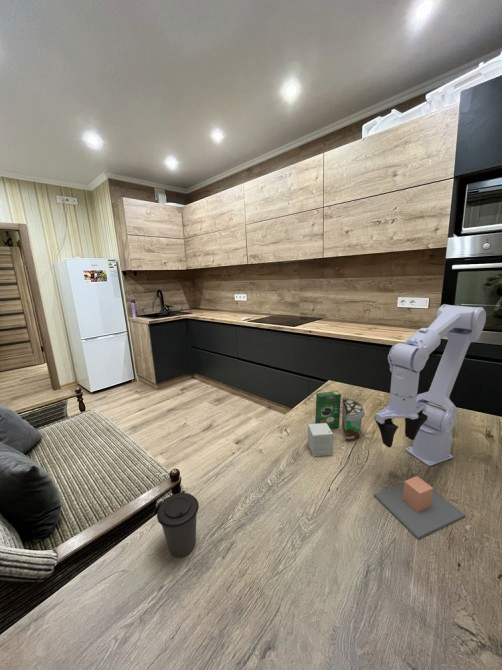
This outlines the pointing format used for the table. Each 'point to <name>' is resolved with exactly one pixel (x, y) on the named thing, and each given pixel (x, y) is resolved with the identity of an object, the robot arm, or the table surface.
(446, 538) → the table surface
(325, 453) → the product box
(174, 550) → the coffee cup
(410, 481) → the block
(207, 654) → the table surface
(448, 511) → the mat
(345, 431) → the food container
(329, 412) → the coffee box
